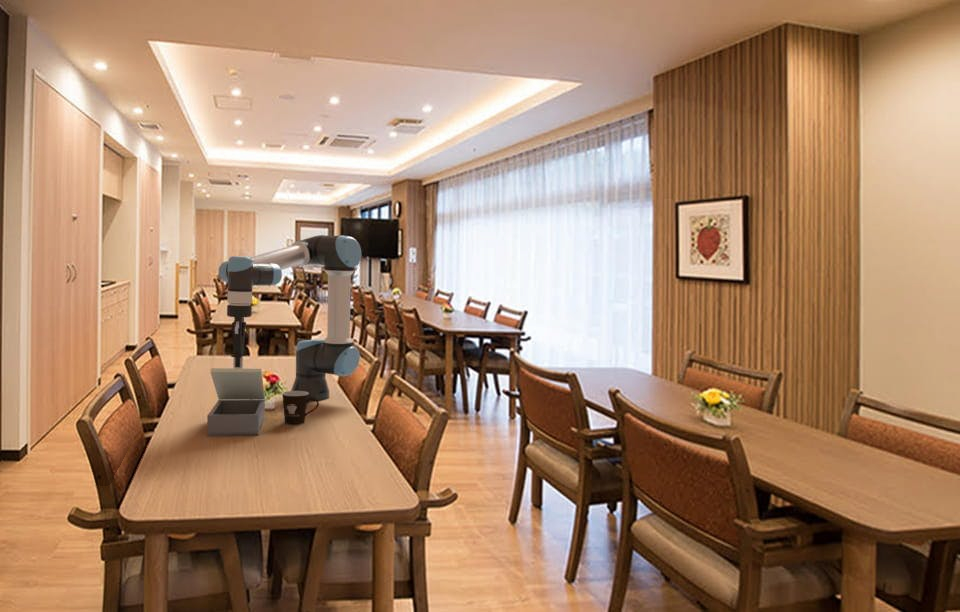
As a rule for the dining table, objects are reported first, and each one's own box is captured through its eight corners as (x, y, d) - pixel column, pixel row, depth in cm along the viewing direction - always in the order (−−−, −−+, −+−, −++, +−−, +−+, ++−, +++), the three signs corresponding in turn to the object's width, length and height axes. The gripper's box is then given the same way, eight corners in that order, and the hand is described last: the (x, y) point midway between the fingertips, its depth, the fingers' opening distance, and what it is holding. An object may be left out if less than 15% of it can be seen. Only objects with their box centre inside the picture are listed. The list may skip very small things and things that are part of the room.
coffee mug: (276, 422, 224) (276, 393, 223) (294, 418, 232) (295, 389, 231) (302, 428, 219) (302, 398, 218) (319, 423, 226) (320, 394, 226)
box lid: (264, 399, 229) (265, 396, 229) (260, 372, 210) (261, 368, 211) (218, 399, 225) (219, 396, 226) (210, 371, 207) (210, 368, 208)
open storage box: (264, 418, 229) (264, 399, 229) (258, 435, 208) (258, 415, 207) (218, 418, 226) (218, 399, 225) (207, 436, 204) (207, 415, 204)
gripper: (230, 302, 220) (228, 372, 221) (224, 305, 207) (222, 380, 209) (254, 303, 221) (252, 373, 223) (249, 306, 209) (247, 380, 210)
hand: (237, 376), depth 216 cm, fingers closed
